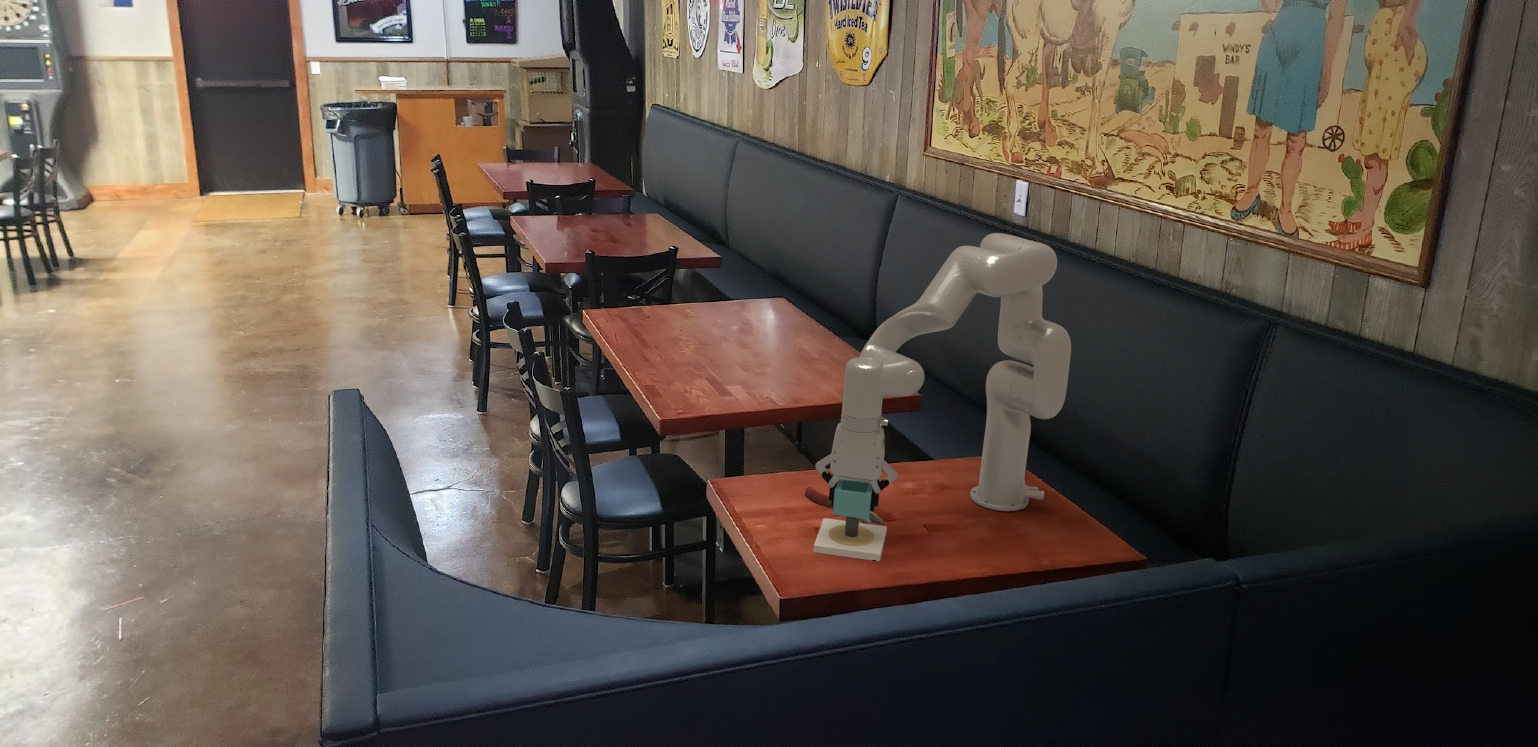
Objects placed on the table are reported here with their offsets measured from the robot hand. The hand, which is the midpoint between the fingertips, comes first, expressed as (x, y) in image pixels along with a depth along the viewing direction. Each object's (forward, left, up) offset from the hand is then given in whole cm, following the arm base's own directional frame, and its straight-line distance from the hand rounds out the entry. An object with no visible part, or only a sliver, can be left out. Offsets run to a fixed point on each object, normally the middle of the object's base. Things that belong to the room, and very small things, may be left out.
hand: (853, 505), depth 223 cm
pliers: (+4, -17, -9) cm, 19 cm away
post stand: (0, 0, -8) cm, 8 cm away
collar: (0, 0, -1) cm, 1 cm away
